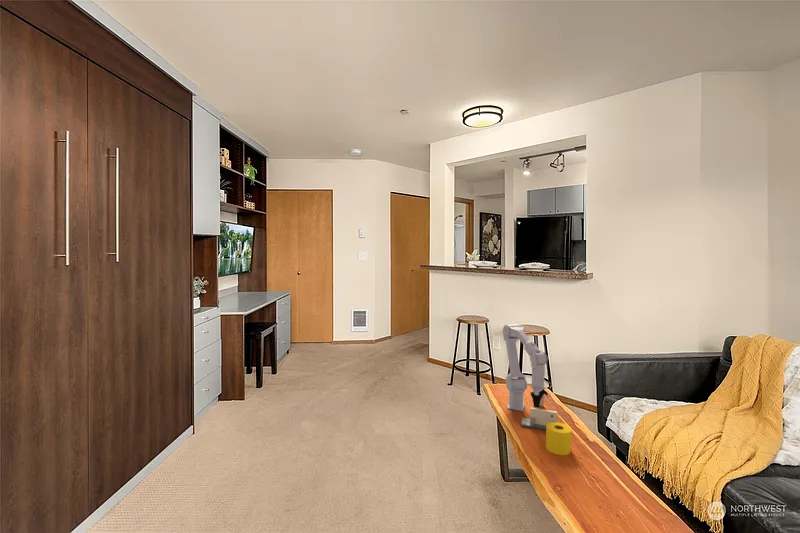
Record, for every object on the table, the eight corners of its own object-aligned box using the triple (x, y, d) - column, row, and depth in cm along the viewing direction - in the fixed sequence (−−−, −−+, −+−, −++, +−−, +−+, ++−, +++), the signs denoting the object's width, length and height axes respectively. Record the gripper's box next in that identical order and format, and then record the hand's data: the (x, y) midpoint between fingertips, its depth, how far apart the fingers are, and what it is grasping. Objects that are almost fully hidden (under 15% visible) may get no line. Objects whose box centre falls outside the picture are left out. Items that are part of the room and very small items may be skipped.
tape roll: (550, 454, 166) (550, 432, 166) (542, 442, 176) (543, 421, 176) (574, 455, 166) (575, 433, 165) (565, 443, 176) (566, 422, 175)
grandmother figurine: (532, 405, 216) (533, 382, 215) (533, 403, 219) (534, 380, 219) (548, 408, 213) (549, 384, 212) (548, 405, 217) (549, 382, 216)
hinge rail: (522, 419, 199) (522, 411, 198) (566, 427, 191) (566, 418, 191) (520, 426, 191) (521, 417, 191) (566, 434, 184) (566, 425, 183)
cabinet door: (530, 421, 194) (530, 407, 194) (556, 426, 190) (557, 411, 189) (529, 423, 192) (530, 409, 192) (556, 428, 187) (557, 413, 187)
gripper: (546, 383, 186) (544, 411, 187) (547, 373, 199) (546, 400, 200) (530, 380, 188) (529, 409, 189) (532, 371, 202) (531, 398, 203)
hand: (537, 404), depth 195 cm, fingers open, 7 cm apart
